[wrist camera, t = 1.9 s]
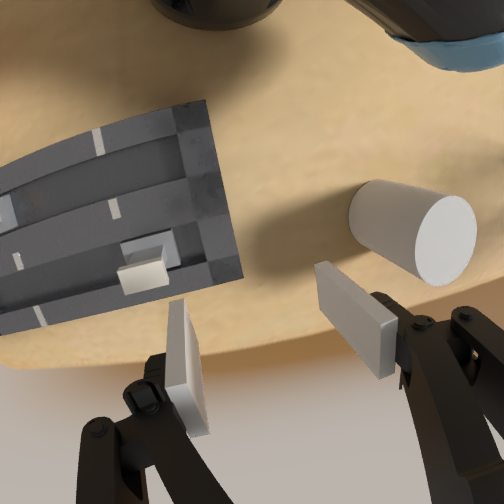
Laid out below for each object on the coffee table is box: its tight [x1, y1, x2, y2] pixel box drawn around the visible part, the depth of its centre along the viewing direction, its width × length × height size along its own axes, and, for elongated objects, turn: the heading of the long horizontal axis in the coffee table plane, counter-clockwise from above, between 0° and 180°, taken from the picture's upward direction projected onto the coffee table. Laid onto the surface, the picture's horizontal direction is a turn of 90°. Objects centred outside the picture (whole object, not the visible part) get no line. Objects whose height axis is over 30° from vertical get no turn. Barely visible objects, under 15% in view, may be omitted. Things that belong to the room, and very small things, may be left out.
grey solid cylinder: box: [349, 180, 477, 286], centre depth 30 cm, size 8×8×12 cm
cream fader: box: [117, 227, 181, 295], centre depth 27 cm, size 3×5×7 cm
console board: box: [0, 100, 244, 336], centre depth 28 cm, size 17×32×3 cm, turn 102°
